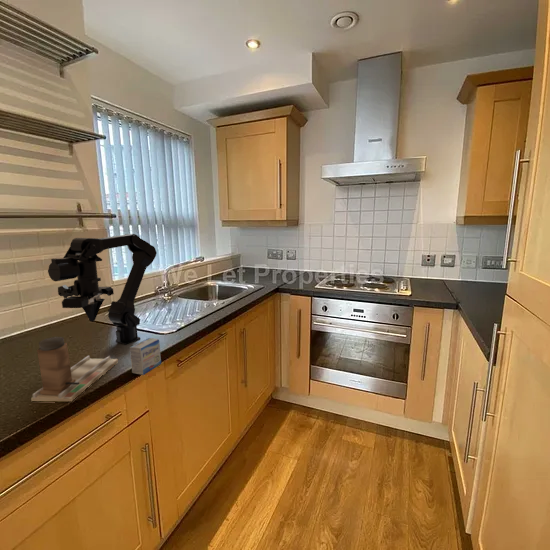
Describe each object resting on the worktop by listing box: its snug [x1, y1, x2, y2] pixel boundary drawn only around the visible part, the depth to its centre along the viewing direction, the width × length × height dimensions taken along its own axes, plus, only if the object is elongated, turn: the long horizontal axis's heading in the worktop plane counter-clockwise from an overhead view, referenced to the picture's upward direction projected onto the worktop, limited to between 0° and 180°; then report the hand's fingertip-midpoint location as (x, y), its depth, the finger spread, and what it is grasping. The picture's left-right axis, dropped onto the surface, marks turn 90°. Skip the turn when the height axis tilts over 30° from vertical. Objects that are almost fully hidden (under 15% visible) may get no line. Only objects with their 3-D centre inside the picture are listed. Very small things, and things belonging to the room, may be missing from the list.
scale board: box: [31, 355, 119, 402], centre depth 88 cm, size 22×10×2 cm, turn 178°
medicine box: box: [129, 337, 162, 376], centre depth 94 cm, size 8×4×9 cm, turn 158°
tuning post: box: [36, 336, 79, 395], centre depth 80 cm, size 6×8×14 cm
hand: (92, 321), depth 103 cm, fingers closed
